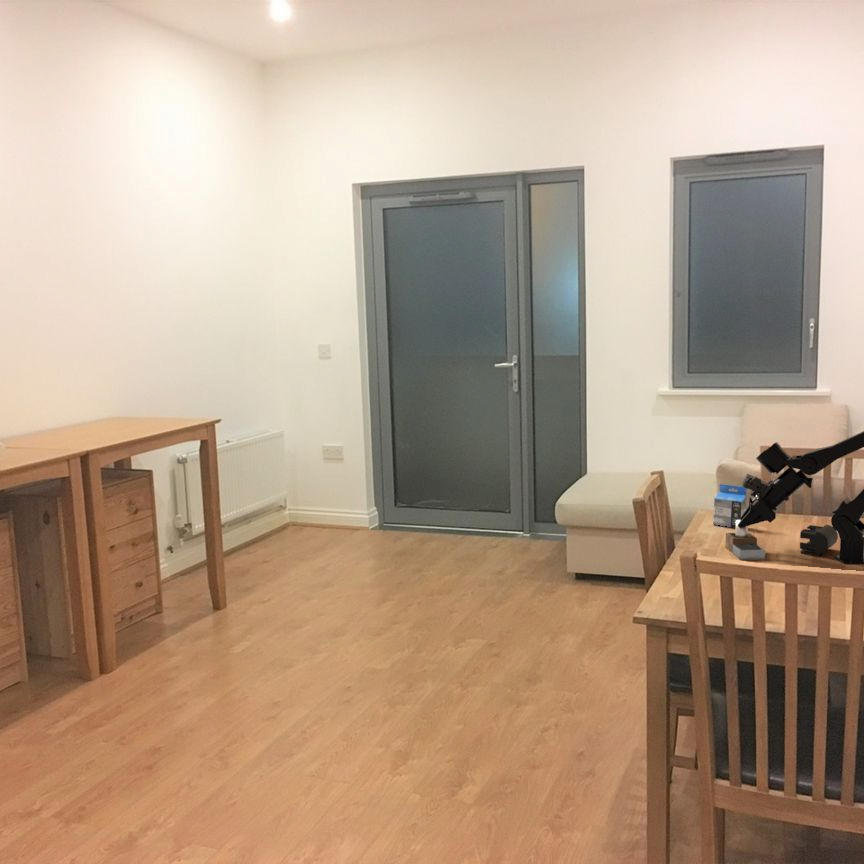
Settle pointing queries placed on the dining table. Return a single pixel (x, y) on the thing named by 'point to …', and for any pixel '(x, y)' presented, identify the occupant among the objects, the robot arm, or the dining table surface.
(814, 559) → the dining table surface
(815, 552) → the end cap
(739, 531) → the axle pin
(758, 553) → the tray
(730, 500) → the label tape box
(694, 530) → the dining table surface
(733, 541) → the bore block
